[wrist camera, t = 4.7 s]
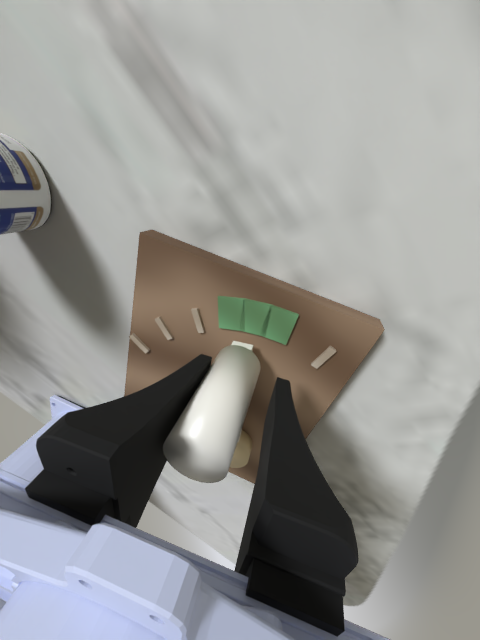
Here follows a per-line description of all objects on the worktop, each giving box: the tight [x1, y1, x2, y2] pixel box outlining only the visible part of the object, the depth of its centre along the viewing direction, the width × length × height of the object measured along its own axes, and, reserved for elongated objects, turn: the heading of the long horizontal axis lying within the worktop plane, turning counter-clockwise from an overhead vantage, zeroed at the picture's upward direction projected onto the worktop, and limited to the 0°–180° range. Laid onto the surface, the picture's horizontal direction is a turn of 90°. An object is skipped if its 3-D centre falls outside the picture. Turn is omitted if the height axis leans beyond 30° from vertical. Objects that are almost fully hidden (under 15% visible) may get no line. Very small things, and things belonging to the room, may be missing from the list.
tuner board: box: [124, 230, 384, 484], centre depth 18 cm, size 17×14×1 cm
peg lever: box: [163, 341, 261, 483], centre depth 14 cm, size 11×3×7 cm, turn 174°
